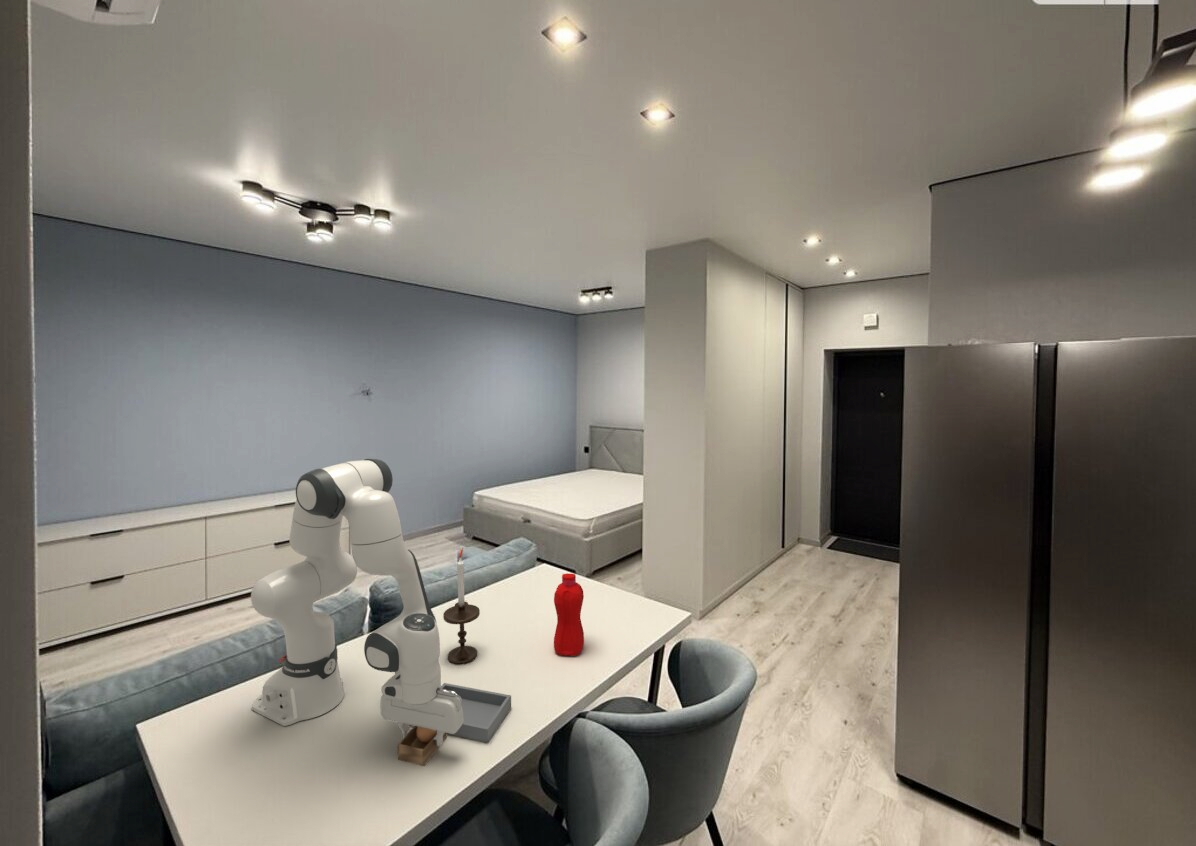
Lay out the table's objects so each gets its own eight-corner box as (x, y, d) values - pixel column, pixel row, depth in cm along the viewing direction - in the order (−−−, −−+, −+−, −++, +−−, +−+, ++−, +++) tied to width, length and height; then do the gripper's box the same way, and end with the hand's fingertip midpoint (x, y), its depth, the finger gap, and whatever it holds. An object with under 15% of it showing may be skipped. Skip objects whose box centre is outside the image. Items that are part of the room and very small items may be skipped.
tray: (415, 727, 122) (415, 714, 122) (444, 694, 135) (444, 682, 135) (488, 743, 117) (487, 729, 117) (511, 707, 130) (511, 695, 129)
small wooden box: (398, 759, 112) (397, 744, 112) (422, 732, 121) (421, 718, 120) (424, 765, 110) (423, 750, 110) (446, 737, 119) (446, 723, 119)
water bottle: (585, 639, 163) (585, 567, 161) (581, 658, 153) (581, 581, 150) (558, 638, 164) (558, 566, 162) (552, 656, 154) (551, 579, 151)
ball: (409, 735, 114) (419, 712, 118) (417, 744, 117) (426, 722, 121) (428, 738, 113) (438, 715, 117) (435, 747, 116) (444, 725, 120)
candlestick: (478, 644, 160) (476, 540, 157) (481, 662, 150) (479, 552, 147) (444, 650, 157) (441, 544, 154) (444, 669, 147) (441, 556, 143)
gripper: (468, 684, 114) (469, 739, 116) (393, 670, 120) (395, 723, 121) (453, 701, 108) (454, 759, 110) (375, 686, 114) (377, 741, 115)
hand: (422, 740), depth 115 cm, fingers closed on small wooden box, 7 cm apart
